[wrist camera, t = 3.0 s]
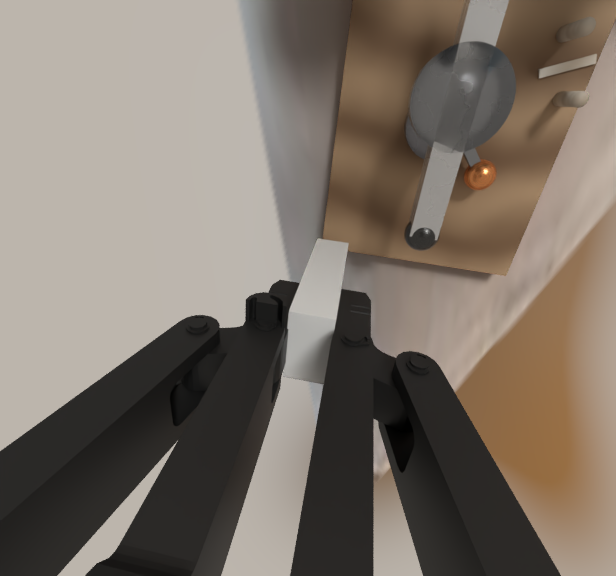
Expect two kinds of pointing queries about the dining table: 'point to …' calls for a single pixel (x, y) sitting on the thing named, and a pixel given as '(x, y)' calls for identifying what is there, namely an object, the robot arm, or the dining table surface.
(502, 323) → the dining table surface
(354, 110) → the wooden lever board
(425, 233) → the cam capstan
